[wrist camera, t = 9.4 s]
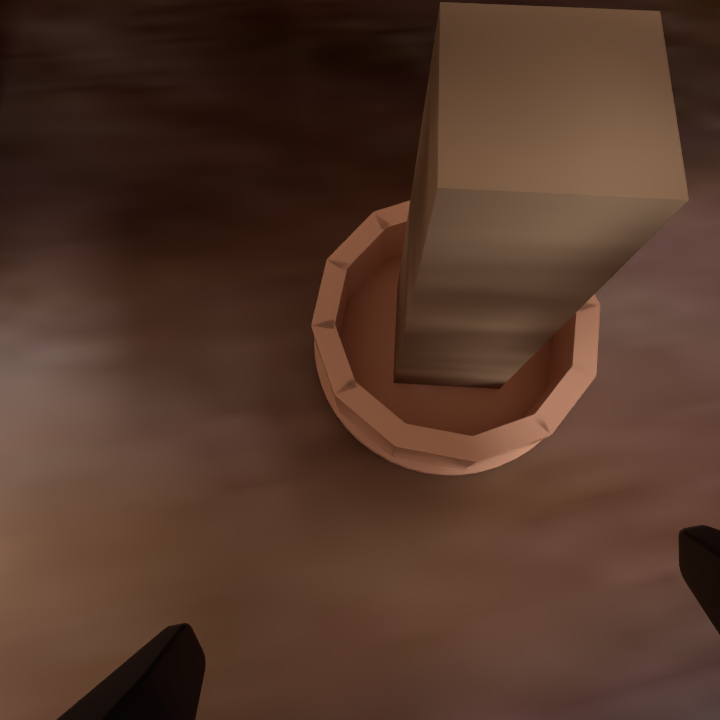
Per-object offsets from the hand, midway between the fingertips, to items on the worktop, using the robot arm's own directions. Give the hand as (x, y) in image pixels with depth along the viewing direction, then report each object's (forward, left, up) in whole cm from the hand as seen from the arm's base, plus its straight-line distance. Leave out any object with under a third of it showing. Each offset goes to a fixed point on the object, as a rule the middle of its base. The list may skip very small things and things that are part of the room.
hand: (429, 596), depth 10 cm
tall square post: (+7, -5, -9) cm, 12 cm away
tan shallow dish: (+7, -5, -10) cm, 13 cm away
